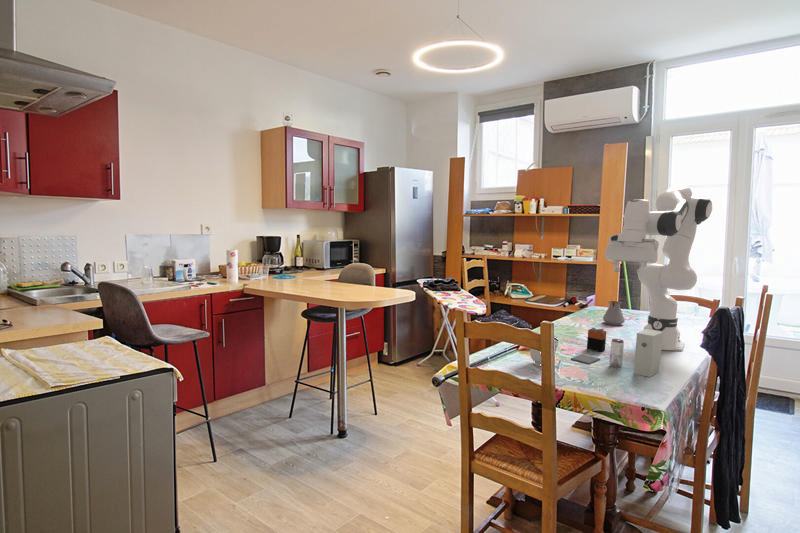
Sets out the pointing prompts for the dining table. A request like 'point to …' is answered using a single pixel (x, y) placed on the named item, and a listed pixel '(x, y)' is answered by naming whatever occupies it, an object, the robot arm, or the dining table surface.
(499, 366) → the dining table surface
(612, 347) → the can
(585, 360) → the mat
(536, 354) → the teacup
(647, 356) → the control box
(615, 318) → the coffee pot
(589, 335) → the battery
